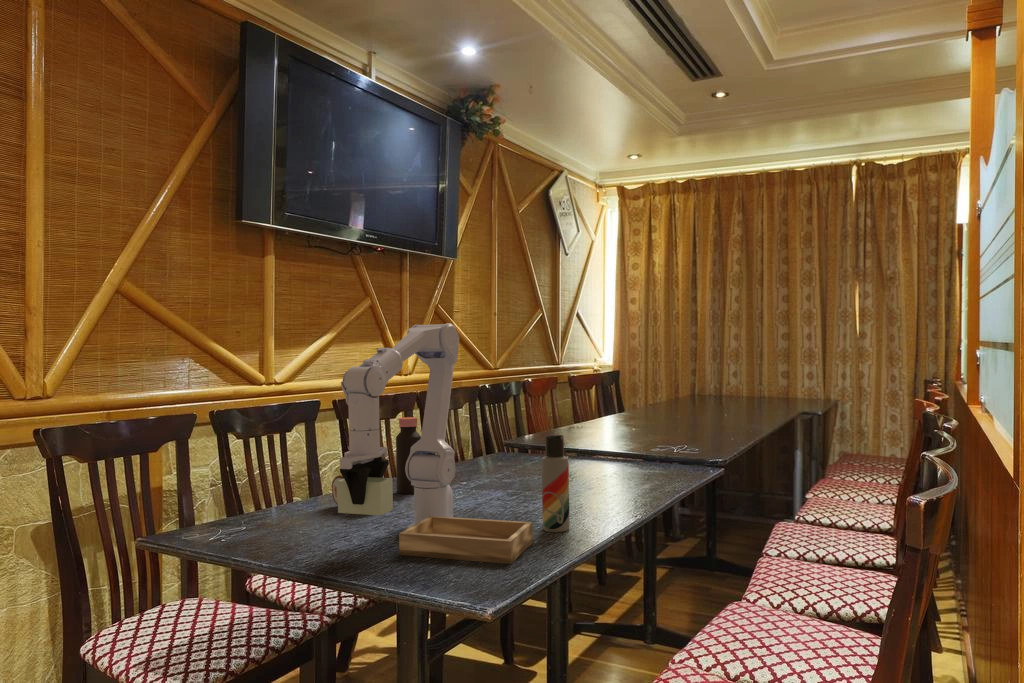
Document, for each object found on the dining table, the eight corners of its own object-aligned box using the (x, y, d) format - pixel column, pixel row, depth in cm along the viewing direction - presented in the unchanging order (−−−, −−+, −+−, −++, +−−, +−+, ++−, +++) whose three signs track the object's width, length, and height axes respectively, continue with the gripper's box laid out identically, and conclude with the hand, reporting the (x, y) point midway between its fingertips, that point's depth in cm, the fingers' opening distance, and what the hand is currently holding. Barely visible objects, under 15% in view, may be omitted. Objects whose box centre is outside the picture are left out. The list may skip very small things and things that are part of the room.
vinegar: (419, 488, 192) (418, 416, 193) (424, 493, 186) (422, 418, 186) (394, 490, 190) (393, 417, 190) (398, 495, 184) (397, 419, 184)
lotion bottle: (550, 533, 143) (548, 436, 143) (538, 527, 148) (536, 433, 149) (574, 530, 145) (572, 434, 146) (561, 524, 151) (560, 432, 151)
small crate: (351, 507, 136) (350, 476, 136) (392, 509, 133) (392, 478, 133) (338, 512, 131) (337, 480, 131) (380, 515, 128) (380, 483, 128)
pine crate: (430, 535, 144) (430, 515, 144) (532, 542, 137) (532, 522, 137) (399, 554, 130) (399, 533, 130) (511, 563, 124) (510, 541, 124)
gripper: (365, 424, 140) (366, 492, 140) (324, 433, 127) (325, 508, 126) (396, 425, 138) (397, 493, 138) (358, 434, 124) (360, 510, 124)
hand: (365, 500), depth 132 cm, fingers closed on small crate, 5 cm apart
